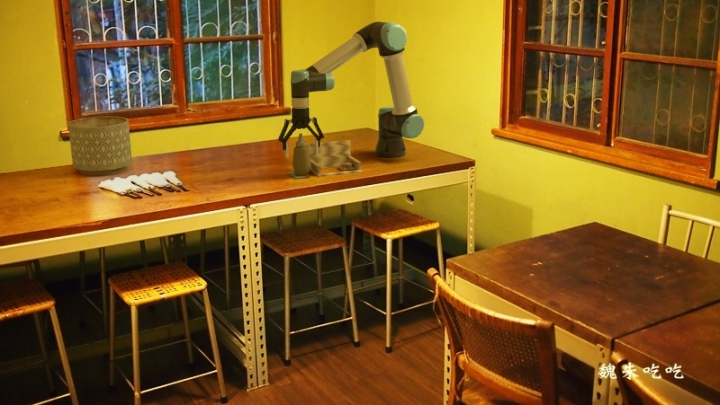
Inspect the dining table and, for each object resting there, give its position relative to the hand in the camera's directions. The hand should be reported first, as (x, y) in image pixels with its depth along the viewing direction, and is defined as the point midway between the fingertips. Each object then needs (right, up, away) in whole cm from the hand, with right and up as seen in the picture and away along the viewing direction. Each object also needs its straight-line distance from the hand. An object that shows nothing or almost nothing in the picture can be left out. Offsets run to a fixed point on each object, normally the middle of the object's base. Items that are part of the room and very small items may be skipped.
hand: (301, 156), depth 344 cm
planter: (-90, -6, +14) cm, 91 cm away
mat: (0, -8, +2) cm, 9 cm away
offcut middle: (+19, -6, +9) cm, 22 cm away
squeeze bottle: (0, -8, +2) cm, 8 cm away
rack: (+14, -7, +8) cm, 17 cm away
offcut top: (+19, -4, +9) cm, 22 cm away
